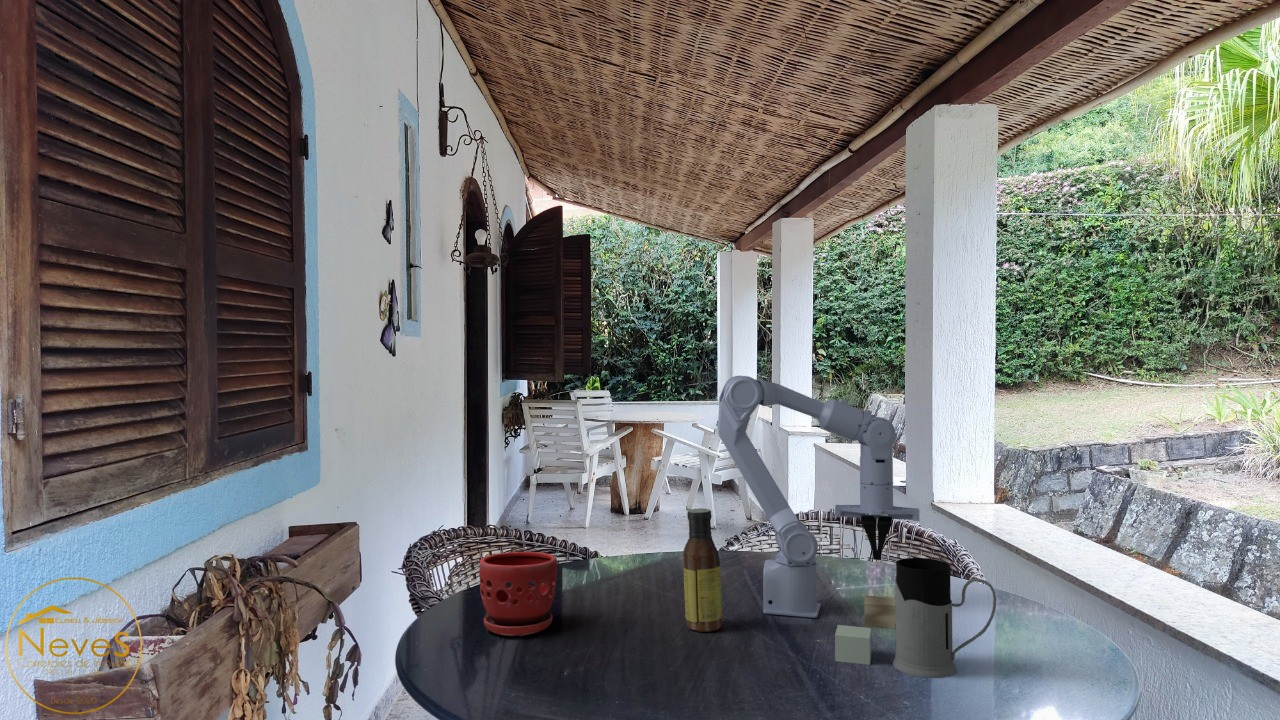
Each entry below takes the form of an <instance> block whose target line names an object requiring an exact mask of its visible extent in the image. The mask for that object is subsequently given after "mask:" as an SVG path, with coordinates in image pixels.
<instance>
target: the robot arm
mask: <svg viewBox="0 0 1280 720" xmlns="http://www.w3.org/2000/svg"><path fill="white" fill-rule="evenodd" d="M759 405H760V406H763V407H768V406H773V405H774V406H775V405H779V406H781V407H784V408H787V409H790V410H793V411H795V412H799V413H801V414H804V415H806V416H810V417H813V418H815V419H816V420H817V421H818V423H819V426H820V428H821V429H823V430H825V431H828V432H830V433H833V434H836V435H838V436H841V437H843V438H846V439H848V440H850V441H853V442H854V441H855V442H856V441H857V442H859V443H860V445H859V447H860V453H859V454H860V457H859V486H860V487H859V499H860V500H859V502H860V504H835V506H834V516H835V518H841V517H842V518H843V517H846V518H860V519H861V521H860V524H861V525H862V528H863V530H864V532H865V534H866V537H867V539H868V541H869V545H870V549H871V553H872V559H873V560H877V561H881V560H882V556H883V555H882V553H883V549H884V546H885V545H884V544H885V542H886V539H887V536H888V534H889V532H890V530H891V527H892V526H893V520H904V521H905V520H907V521H914V522H916V521H917V522H920V508H917V507H916V508H915V507H906V506H905V507H903V506H896V505H895V506H894V460H893V459H894V458H893V447H894V445H895V443H896V441H897V440H898V439H897V438H898V433H897V432H896V429H895V426H894V424H892V422H891V421H890V420H888V419H887V418H884V417H880V416H877V415H875V414H872V413H873V412H872V410H868V409H865V410H862V409H859V408H858V407H855V406H852V405H850V404H848V401H847V400H846V399H843V398H838V400H837V399H835V398H833V399H830V400H827V401H825V402H822V401H820V400H817V399H815V398H812V397H810V396H808V395H805V394H804V393H803V394H802V393H801V392H799V391H795V390H794V389H790V388H788V387H786V386H784V385H781V384H779V383H778V382H777V383H776V382H771V381H767V380H762V379H759V378H758V379H756V378H753V377H751V376H748V375H734V376H732V377H730V378H729V379H728V380H726V382H725V383H724V386H723V388H722V390H721V393H720V396H719V397H718V420H717V434H718V437H719V438H720V440H721V442H722V444H723V445H724V447H725V448H726V450H727V452H728V453H729V455H730V457H731V458H732V461H734V464H735V465H736V467H737V469H738V470H739V472H740V474H741V475H742V477H743V478H744V480H745V482H746V484H747V485H748V487H749V490H751V492H752V494H753V496H754V497H755V499H756V501H757V502H758V504H759V506H760V507H761V509H762V511H763V512H764V514H765V516H766V517H767V519H768V521H769V523H770V525H771V526H772V528H773V531H774V539H775V544H776V545H777V546H778V548H779V549H780V550H779V552H778V553H777V555H775V559H765V561H764V565H763V577H762V579H763V580H762V584H763V586H762V587H763V589H762V590H763V591H762V592H763V596H762V597H763V606H762V607H763V610H762V613H763V614H766V615H767V614H768V615H778V616H787V617H788V616H789V617H790V616H791V617H800V618H812V619H813V618H814V619H815V618H818V616H819V612H820V609H821V608H822V607H821V606H822V605H821V602H820V603H819V602H817V599H818V598H817V597H818V593H817V592H818V591H817V586H818V585H817V584H818V583H817V558H816V555H817V553H818V550H819V548H818V547H819V546H818V545H819V543H818V540H817V538H816V536H815V535H814V534H813V532H811V531H809V529H808V528H807V526H806V525H805V524H804V523H803V522H801V520H799V518H798V517H797V515H796V514H795V513H794V511H793V510H792V508H791V506H790V505H789V503H788V502H787V499H786V497H785V496H784V495H783V492H782V490H780V488H779V486H778V484H777V482H776V481H775V480H774V477H773V475H771V473H770V471H769V469H768V467H767V466H766V464H765V463H764V461H763V459H762V457H761V456H760V454H759V453H758V451H757V449H756V447H755V445H754V444H753V443H752V441H751V439H750V437H749V435H748V433H747V429H748V425H749V422H750V419H751V415H752V414H753V413H754V412H755V410H756V409H757V407H758V406H759Z"/></svg>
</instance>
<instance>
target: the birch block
mask: <svg viewBox="0 0 1280 720" xmlns="http://www.w3.org/2000/svg"><path fill="white" fill-rule="evenodd" d="M895 622H896V613H895V597H889V596H874V595H864V627H865V628H879V629H890V630H894V629H895ZM895 630H896V629H895Z"/></svg>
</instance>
